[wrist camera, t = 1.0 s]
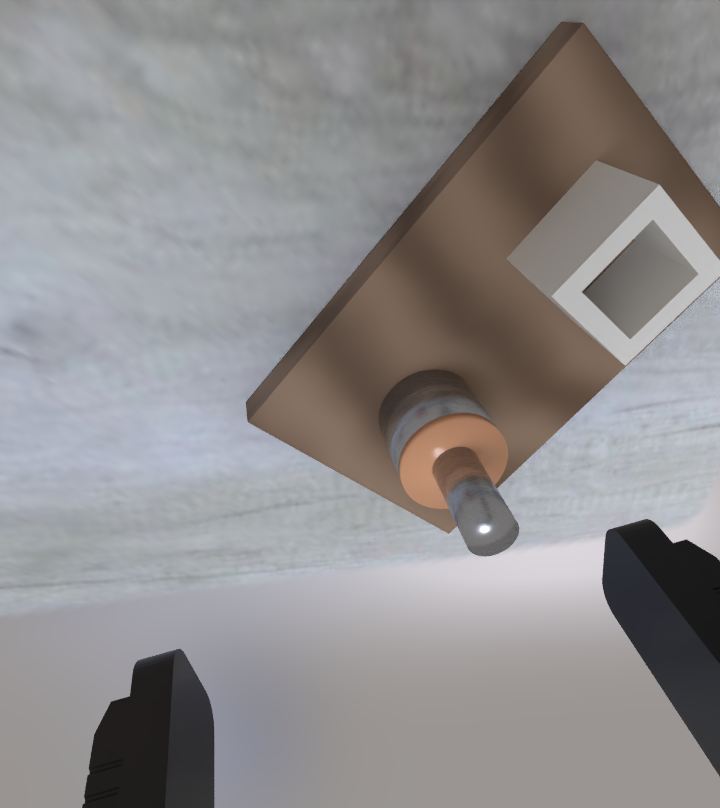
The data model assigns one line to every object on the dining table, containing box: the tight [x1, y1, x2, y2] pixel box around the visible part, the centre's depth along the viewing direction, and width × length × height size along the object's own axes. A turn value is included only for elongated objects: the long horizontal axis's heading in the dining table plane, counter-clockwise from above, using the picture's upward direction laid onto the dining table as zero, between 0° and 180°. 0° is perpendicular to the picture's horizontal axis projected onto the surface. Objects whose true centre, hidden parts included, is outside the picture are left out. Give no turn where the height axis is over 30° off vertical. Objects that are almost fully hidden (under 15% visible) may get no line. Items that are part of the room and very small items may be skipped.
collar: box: [506, 160, 720, 366], centre depth 30 cm, size 6×6×5 cm
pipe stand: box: [246, 22, 720, 556], centre depth 30 cm, size 24×16×12 cm, turn 139°
